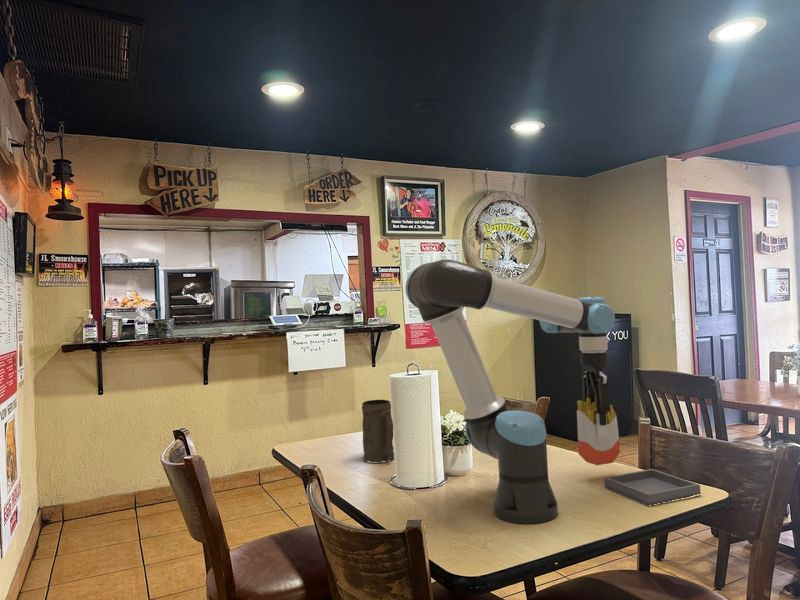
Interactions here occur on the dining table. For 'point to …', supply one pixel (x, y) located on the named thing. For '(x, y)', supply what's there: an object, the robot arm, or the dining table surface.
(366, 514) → the dining table surface
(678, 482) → the serving tray
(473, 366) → the robot arm
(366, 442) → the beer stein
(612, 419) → the french fries container
